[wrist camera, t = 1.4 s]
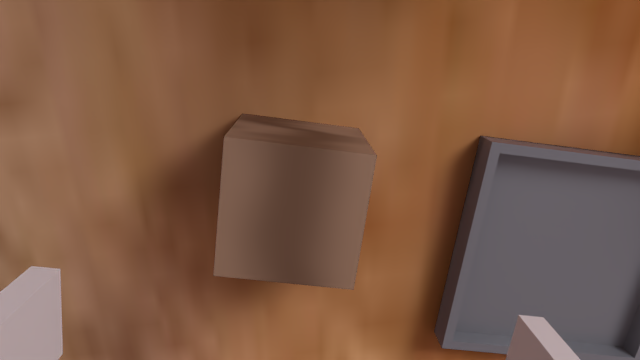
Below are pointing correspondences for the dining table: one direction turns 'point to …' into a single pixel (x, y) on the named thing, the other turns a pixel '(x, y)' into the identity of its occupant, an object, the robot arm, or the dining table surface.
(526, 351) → the robot arm
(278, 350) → the dining table surface
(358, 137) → the walnut cube
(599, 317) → the slate tray
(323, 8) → the dining table surface
